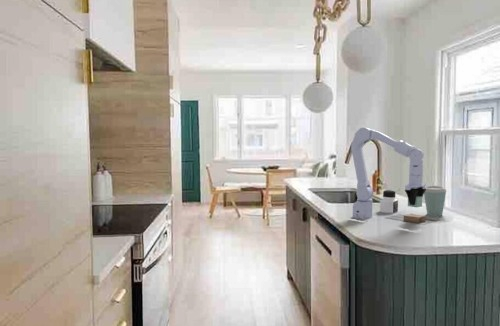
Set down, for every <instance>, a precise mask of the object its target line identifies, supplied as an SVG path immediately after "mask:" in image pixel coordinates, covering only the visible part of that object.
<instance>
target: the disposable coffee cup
mask: <svg viewBox="0 0 500 326" xmlns="http://www.w3.org/2000/svg"><path fill="white" fill-rule="evenodd" d="M424 189H426V191H425V192H424V194H423V196H424V197H423V198H424V202H425V209H426V214H427V216H433V217H442V216H443V212H444V207H445V200H446V195H447V188H446V187H444V186H441V185H427V186H426V187H425V188H424Z"/></svg>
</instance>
